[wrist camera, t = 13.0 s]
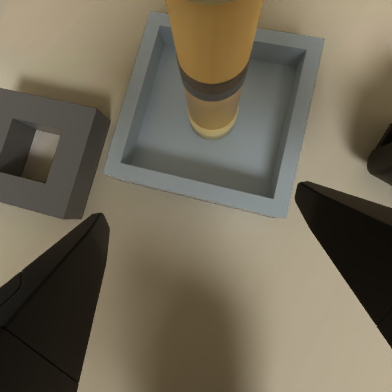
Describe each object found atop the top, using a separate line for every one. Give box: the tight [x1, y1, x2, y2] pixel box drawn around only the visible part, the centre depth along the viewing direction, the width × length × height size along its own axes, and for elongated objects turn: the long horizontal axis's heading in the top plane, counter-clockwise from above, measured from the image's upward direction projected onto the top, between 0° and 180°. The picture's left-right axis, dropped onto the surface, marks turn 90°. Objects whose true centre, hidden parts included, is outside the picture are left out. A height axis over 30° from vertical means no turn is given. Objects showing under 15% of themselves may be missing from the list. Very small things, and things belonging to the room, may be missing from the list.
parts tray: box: [103, 11, 324, 218], centre depth 18 cm, size 15×15×3 cm
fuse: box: [165, 0, 263, 140], centre depth 12 cm, size 4×4×14 cm
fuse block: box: [0, 88, 111, 219], centre depth 20 cm, size 10×10×2 cm
